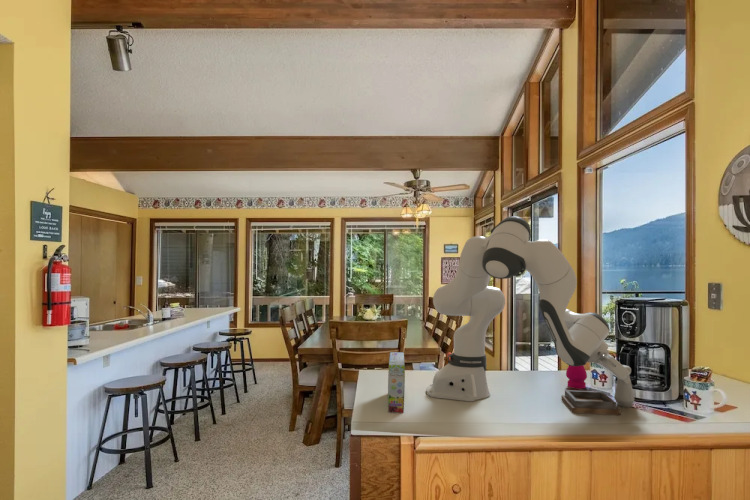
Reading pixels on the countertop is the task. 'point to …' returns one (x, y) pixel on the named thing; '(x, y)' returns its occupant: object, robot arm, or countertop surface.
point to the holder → (590, 402)
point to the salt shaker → (624, 392)
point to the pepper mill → (576, 377)
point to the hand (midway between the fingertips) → (625, 380)
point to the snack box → (396, 382)
